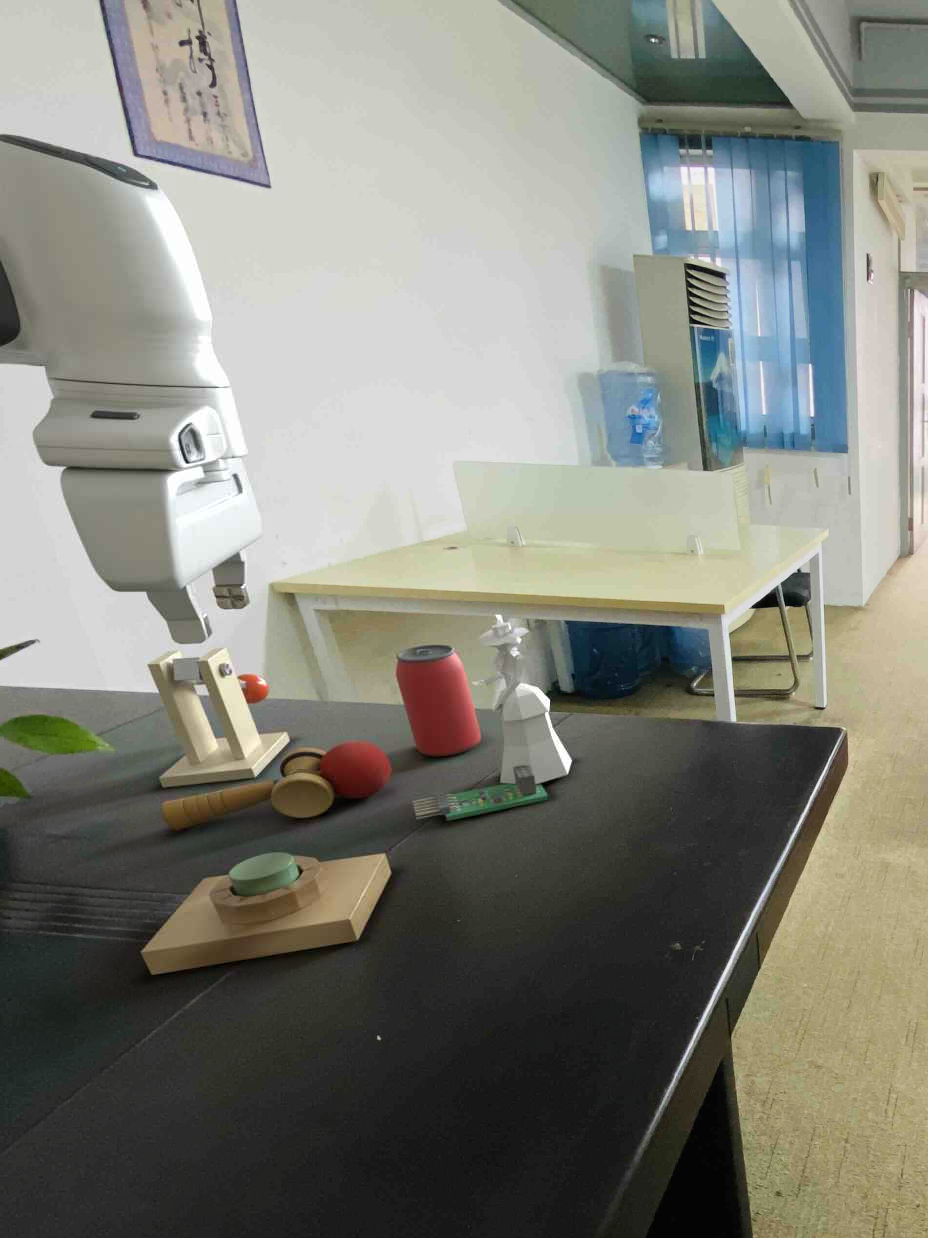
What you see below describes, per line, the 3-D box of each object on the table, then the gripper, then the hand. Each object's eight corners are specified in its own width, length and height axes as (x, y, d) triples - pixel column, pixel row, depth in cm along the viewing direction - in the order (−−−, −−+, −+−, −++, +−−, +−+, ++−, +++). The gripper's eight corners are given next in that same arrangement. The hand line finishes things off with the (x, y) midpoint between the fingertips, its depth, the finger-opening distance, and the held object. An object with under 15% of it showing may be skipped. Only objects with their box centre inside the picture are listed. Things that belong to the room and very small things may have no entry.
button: (227, 902, 63) (218, 883, 62) (248, 874, 66) (241, 856, 66) (289, 893, 64) (282, 874, 63) (307, 866, 68) (300, 848, 67)
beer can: (465, 731, 101) (442, 639, 96) (493, 744, 98) (470, 650, 93) (407, 748, 96) (379, 652, 91) (434, 764, 93) (406, 665, 88)
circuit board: (412, 802, 78) (406, 783, 82) (419, 830, 80) (413, 810, 83) (544, 776, 85) (534, 759, 89) (548, 802, 86) (538, 784, 90)
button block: (151, 975, 60) (129, 932, 59) (213, 899, 69) (195, 860, 67) (357, 941, 65) (343, 900, 63) (391, 873, 73) (379, 835, 71)
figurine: (484, 778, 89) (447, 617, 83) (552, 755, 96) (523, 605, 90) (521, 791, 86) (486, 625, 80) (589, 766, 92) (561, 611, 86)
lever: (240, 707, 98) (237, 678, 98) (276, 704, 99) (274, 675, 99) (165, 687, 84) (163, 653, 85) (208, 684, 86) (206, 650, 86)
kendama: (174, 863, 75) (396, 795, 83) (138, 802, 73) (369, 739, 81) (199, 837, 82) (403, 777, 90) (167, 781, 80) (379, 724, 88)
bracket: (206, 748, 94) (164, 644, 89) (290, 740, 97) (253, 638, 91) (162, 787, 86) (112, 674, 80) (255, 777, 88) (212, 667, 83)
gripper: (155, 415, 62) (208, 591, 68) (14, 437, 46) (99, 667, 51) (259, 421, 65) (302, 589, 71) (162, 443, 49) (228, 661, 54)
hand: (216, 623), depth 61 cm, fingers open, 8 cm apart
